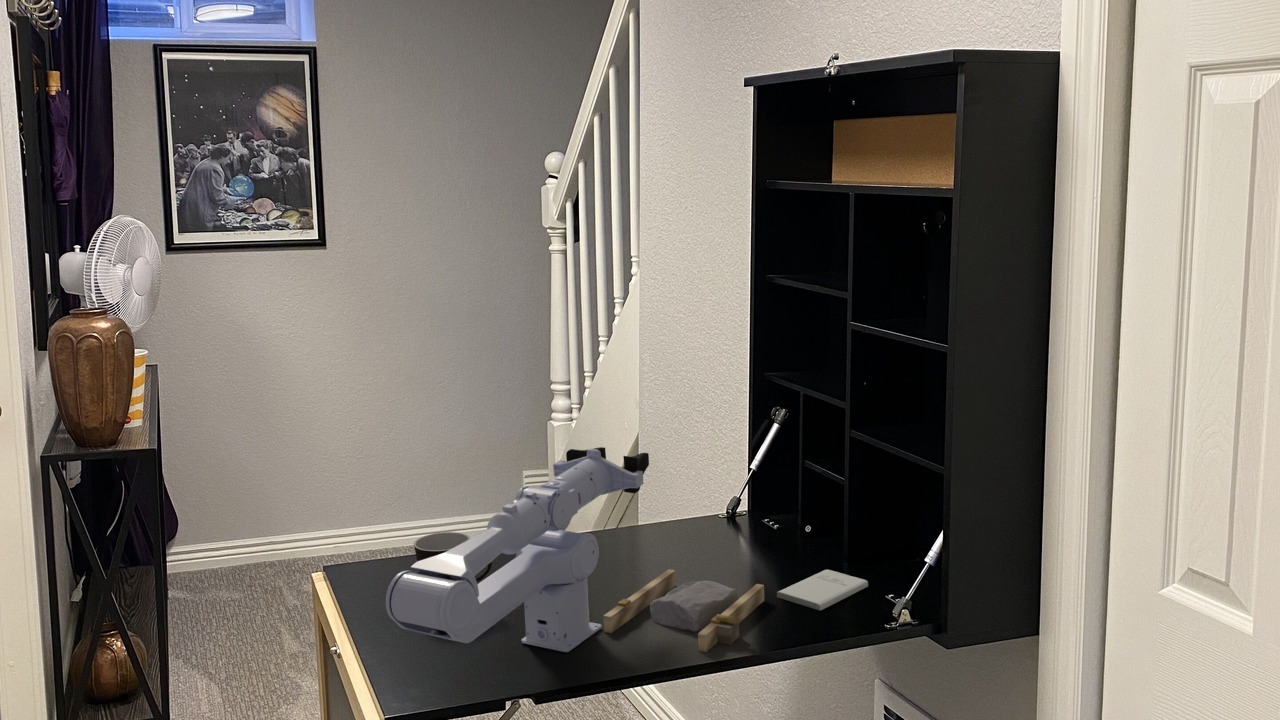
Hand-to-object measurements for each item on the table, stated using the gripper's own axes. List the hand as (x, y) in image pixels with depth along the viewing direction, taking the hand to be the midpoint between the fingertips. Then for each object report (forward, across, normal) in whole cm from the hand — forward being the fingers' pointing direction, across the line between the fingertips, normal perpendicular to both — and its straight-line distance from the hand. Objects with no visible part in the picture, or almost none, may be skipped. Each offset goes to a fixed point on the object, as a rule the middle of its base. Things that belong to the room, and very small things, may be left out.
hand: (625, 456), depth 181 cm
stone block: (-6, -14, +22) cm, 26 cm away
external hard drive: (+9, -28, +23) cm, 38 cm away
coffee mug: (-19, +22, +21) cm, 35 cm away
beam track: (-8, -15, +21) cm, 27 cm away
